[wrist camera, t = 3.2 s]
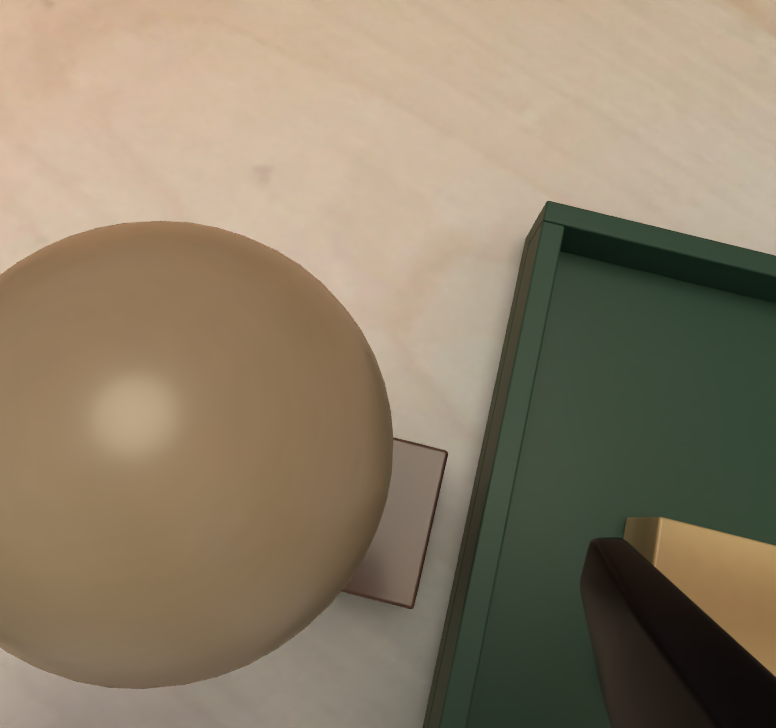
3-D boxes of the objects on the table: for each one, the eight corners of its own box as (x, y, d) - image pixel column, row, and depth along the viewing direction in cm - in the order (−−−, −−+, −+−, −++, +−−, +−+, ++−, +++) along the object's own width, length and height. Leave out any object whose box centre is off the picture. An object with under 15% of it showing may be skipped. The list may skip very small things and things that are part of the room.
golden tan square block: (762, 722, 16) (817, 750, 14) (600, 681, 16) (632, 703, 14) (778, 554, 17) (832, 559, 15) (625, 516, 17) (659, 516, 15)
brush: (404, 594, 17) (624, 977, 3) (180, 537, 17) (-709, 625, 3) (434, 462, 18) (721, 234, 4) (220, 408, 18) (-319, -17, 4)
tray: (876, 1050, 15) (966, 1142, 13) (381, 919, 15) (384, 987, 13) (916, 331, 19) (989, 306, 17) (525, 236, 19) (547, 199, 17)
